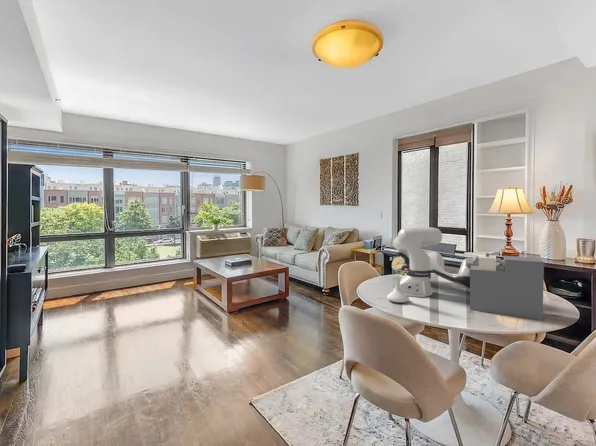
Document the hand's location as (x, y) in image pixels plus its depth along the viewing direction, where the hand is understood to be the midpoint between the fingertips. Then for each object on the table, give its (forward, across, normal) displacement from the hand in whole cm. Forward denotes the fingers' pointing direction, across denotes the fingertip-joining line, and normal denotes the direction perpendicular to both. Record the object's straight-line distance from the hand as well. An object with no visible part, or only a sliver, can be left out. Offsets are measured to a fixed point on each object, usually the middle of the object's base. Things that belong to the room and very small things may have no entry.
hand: (487, 258), depth 155 cm
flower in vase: (+6, +40, -31) cm, 51 cm away
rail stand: (-3, -7, -25) cm, 26 cm away
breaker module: (+3, 0, -6) cm, 6 cm away
